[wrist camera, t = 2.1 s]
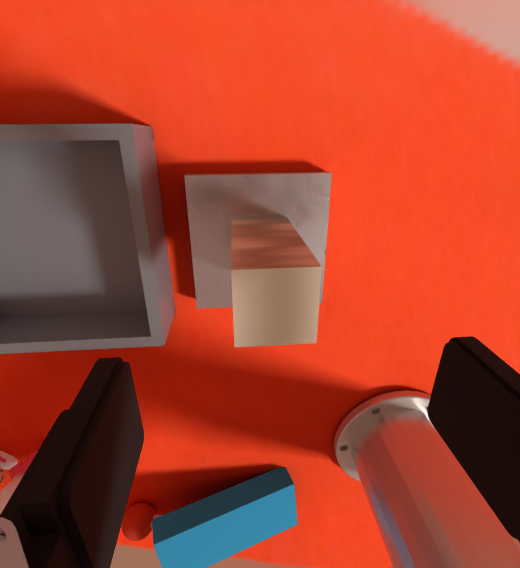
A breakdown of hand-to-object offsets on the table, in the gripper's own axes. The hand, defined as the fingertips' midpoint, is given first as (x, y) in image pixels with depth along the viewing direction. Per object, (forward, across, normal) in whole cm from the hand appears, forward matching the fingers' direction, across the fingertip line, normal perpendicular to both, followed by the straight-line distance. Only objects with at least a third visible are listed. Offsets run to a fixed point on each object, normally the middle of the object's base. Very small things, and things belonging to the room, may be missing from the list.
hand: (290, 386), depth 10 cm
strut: (+16, 0, +1) cm, 16 cm away
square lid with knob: (+17, 0, +1) cm, 17 cm away
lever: (+17, +5, +31) cm, 36 cm away
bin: (+17, +14, 0) cm, 22 cm away
